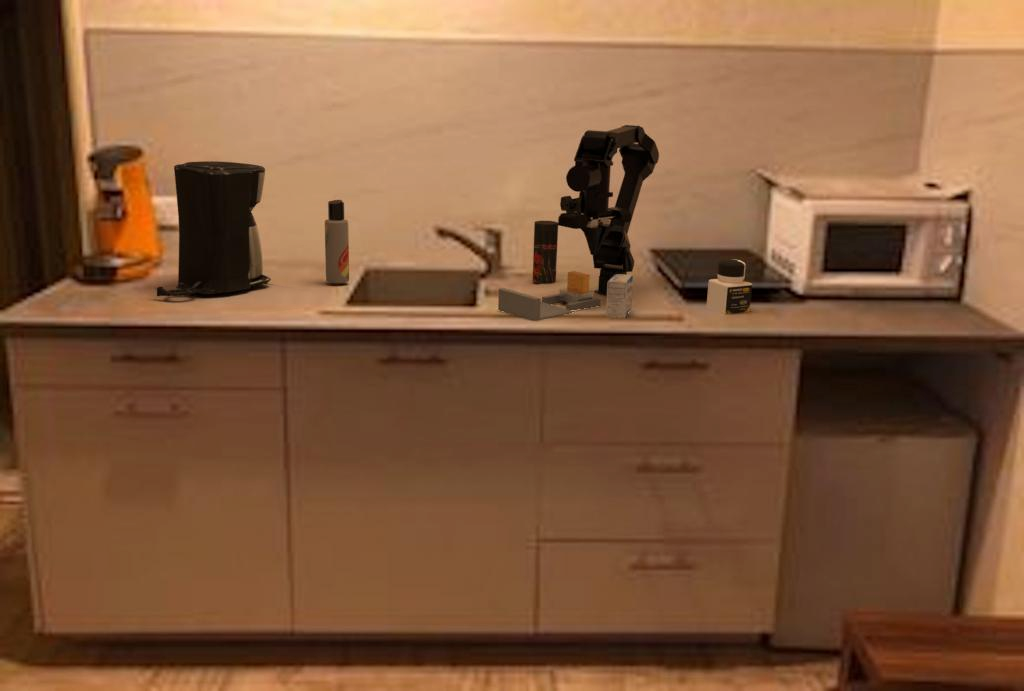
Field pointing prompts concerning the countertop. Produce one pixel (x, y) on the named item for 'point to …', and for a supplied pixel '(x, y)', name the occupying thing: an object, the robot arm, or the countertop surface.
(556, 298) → the press bed
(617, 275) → the medicine box
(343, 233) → the lotion bottle
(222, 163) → the coffee maker
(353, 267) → the countertop surface
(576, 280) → the ram
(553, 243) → the deodorant
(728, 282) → the medicine bottle
